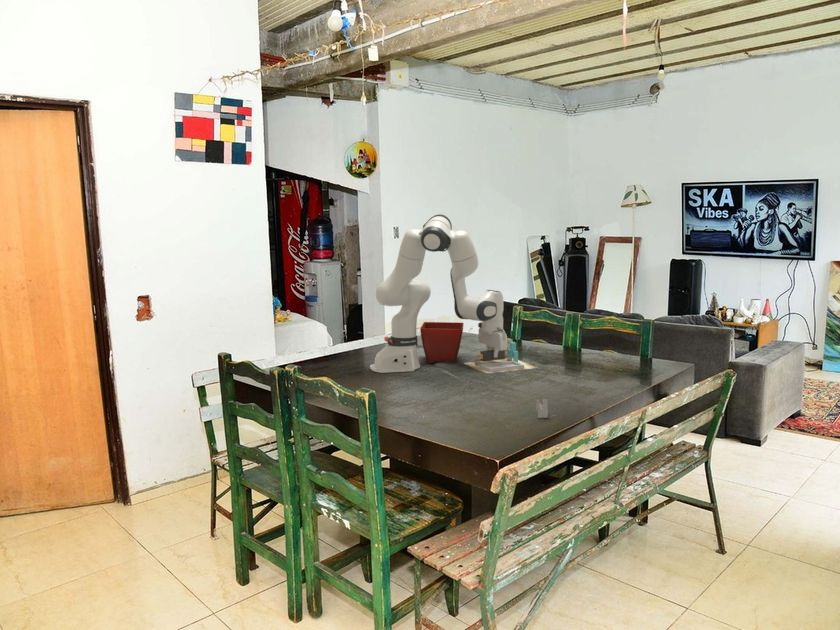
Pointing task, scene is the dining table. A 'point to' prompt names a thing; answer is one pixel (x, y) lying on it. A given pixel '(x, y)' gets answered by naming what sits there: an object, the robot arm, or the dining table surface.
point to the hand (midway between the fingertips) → (492, 356)
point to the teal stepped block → (512, 350)
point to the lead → (491, 355)
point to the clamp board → (477, 364)
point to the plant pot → (441, 340)
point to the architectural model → (542, 412)
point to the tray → (501, 366)
